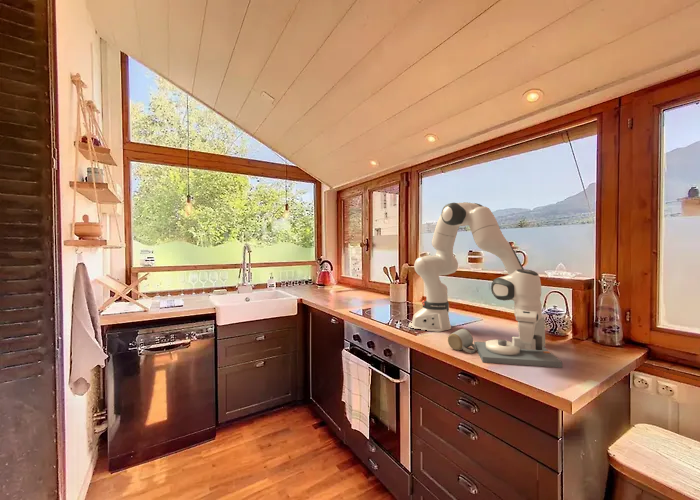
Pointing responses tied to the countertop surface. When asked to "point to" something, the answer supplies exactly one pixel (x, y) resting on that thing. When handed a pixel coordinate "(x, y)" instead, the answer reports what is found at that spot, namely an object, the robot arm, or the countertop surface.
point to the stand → (519, 357)
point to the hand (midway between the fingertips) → (528, 348)
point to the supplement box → (541, 329)
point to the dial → (512, 345)
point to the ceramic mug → (461, 341)
